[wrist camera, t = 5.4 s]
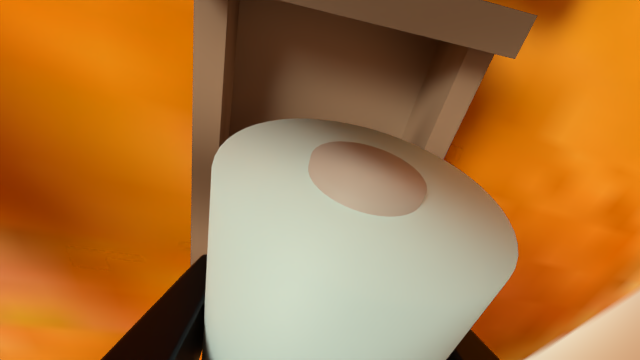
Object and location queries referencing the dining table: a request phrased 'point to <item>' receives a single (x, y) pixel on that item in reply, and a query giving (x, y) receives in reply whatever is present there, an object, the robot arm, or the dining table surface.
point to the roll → (345, 247)
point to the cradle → (339, 70)
